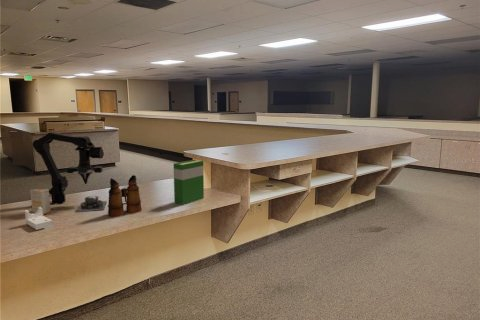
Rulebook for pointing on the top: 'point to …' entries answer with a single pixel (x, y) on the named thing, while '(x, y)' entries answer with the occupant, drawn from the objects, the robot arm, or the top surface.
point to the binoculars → (132, 198)
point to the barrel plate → (92, 206)
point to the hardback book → (188, 181)
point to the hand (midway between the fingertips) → (85, 183)
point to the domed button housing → (91, 200)
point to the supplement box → (40, 200)
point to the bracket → (37, 219)
